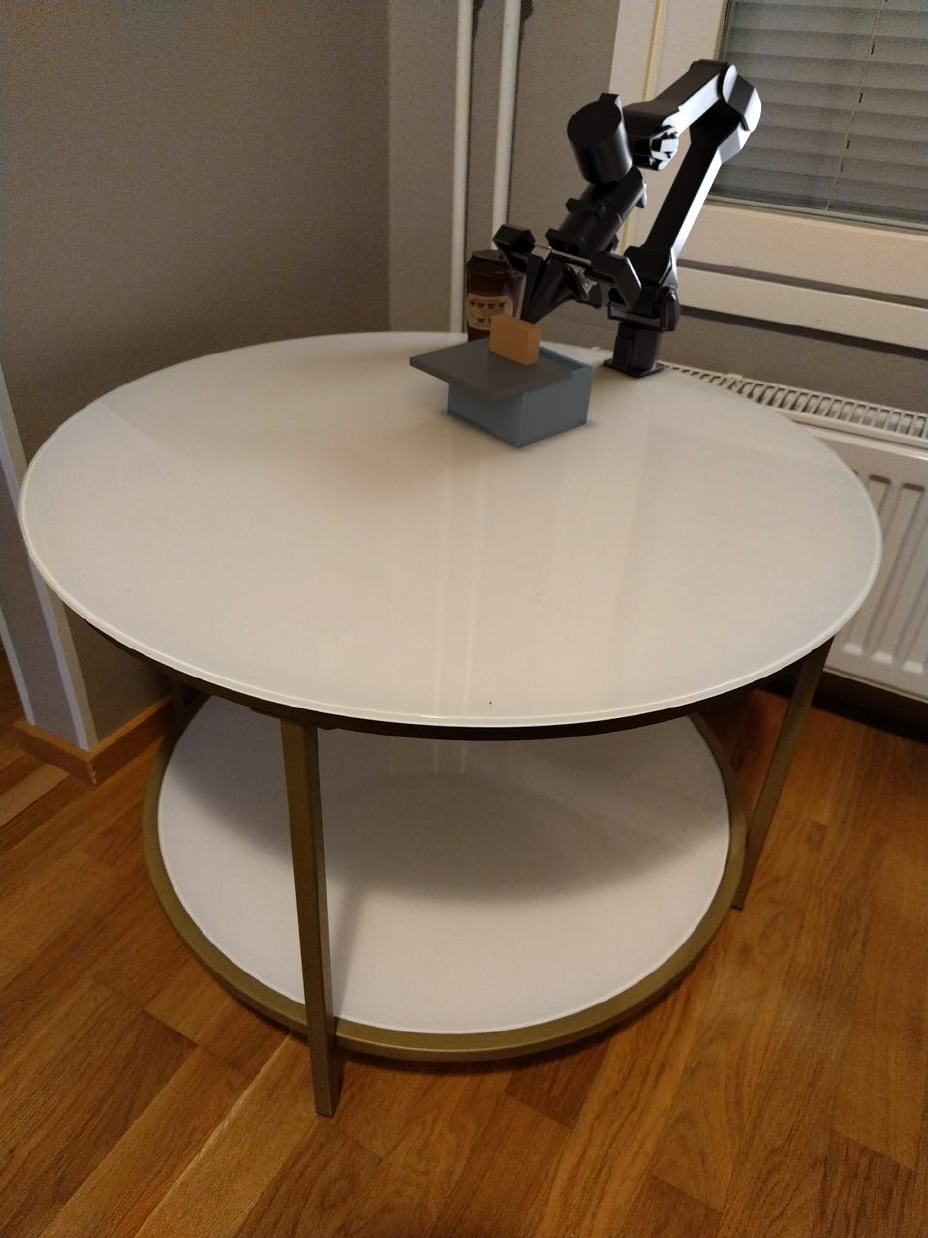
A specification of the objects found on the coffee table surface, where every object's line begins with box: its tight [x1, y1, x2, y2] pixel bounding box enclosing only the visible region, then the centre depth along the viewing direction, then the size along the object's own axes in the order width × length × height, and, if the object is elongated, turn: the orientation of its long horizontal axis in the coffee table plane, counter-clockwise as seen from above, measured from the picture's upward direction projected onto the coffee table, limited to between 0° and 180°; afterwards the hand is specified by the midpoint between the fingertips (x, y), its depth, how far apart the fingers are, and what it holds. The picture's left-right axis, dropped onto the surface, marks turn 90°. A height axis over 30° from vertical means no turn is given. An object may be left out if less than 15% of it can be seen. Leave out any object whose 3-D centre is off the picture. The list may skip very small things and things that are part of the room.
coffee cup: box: [465, 248, 526, 343], centre depth 121 cm, size 9×8×13 cm
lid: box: [409, 313, 572, 402], centre depth 96 cm, size 13×13×5 cm
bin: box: [446, 345, 595, 449], centre depth 102 cm, size 12×12×7 cm
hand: (522, 326), depth 98 cm, fingers closed, pressing on lid
